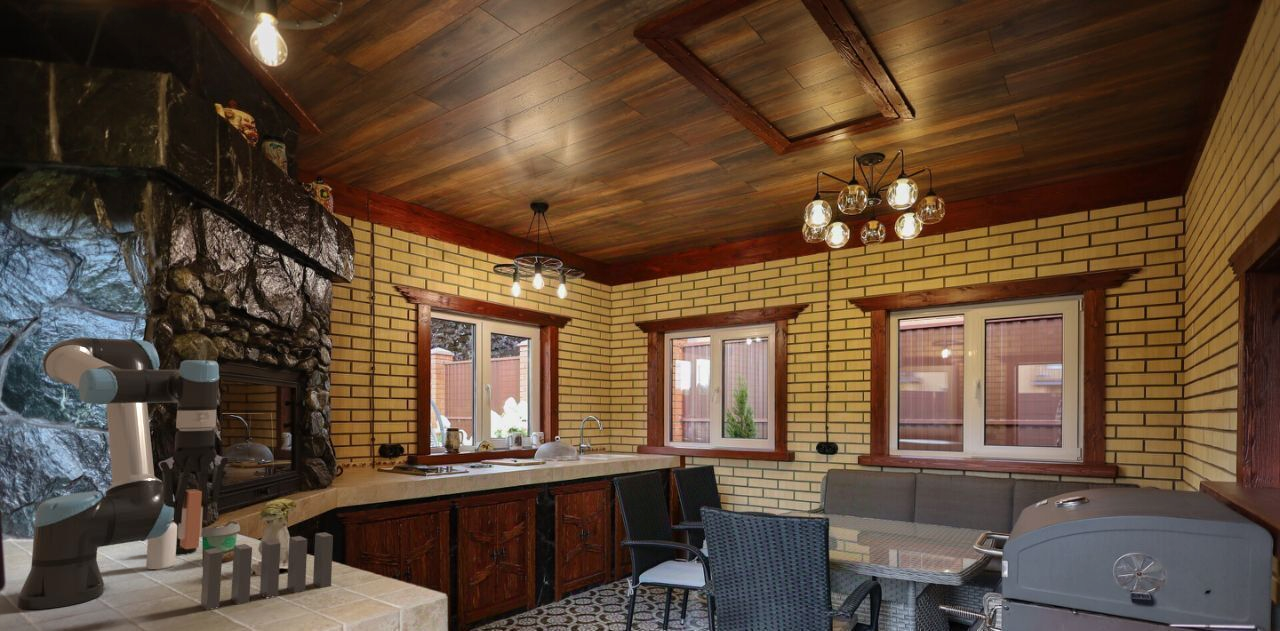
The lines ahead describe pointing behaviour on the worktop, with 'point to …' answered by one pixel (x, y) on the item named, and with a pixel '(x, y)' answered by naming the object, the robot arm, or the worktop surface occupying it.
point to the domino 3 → (241, 573)
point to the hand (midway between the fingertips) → (189, 537)
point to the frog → (276, 529)
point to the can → (162, 549)
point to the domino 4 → (270, 568)
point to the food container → (221, 539)
